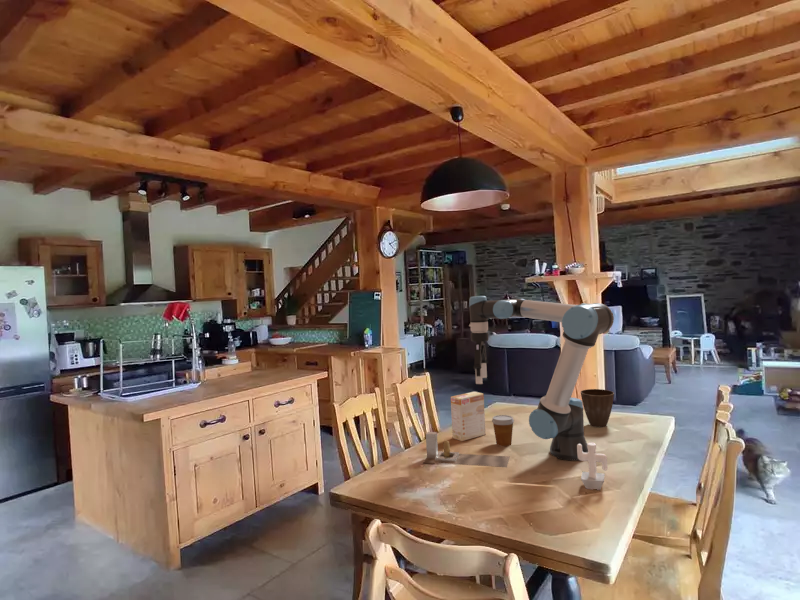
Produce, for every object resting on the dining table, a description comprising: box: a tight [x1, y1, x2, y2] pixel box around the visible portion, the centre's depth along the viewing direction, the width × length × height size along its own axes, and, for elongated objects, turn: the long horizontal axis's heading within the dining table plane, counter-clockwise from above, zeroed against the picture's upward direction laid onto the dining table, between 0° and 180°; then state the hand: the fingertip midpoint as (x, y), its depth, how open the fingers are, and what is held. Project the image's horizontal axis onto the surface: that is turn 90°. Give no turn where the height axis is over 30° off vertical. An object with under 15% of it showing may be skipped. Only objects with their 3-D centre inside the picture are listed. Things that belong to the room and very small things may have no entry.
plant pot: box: [580, 388, 615, 428], centre depth 240 cm, size 15×15×16 cm
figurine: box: [577, 441, 609, 491], centre depth 170 cm, size 7×9×15 cm
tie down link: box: [425, 431, 460, 462], centre depth 204 cm, size 12×8×10 cm
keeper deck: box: [422, 439, 510, 468], centre depth 201 cm, size 33×12×8 cm, turn 72°
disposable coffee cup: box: [491, 414, 515, 447], centre depth 218 cm, size 10×10×12 cm
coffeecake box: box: [450, 391, 486, 442], centre depth 233 cm, size 15×7×20 cm, turn 123°
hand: (481, 380), depth 217 cm, fingers open, 13 cm apart
